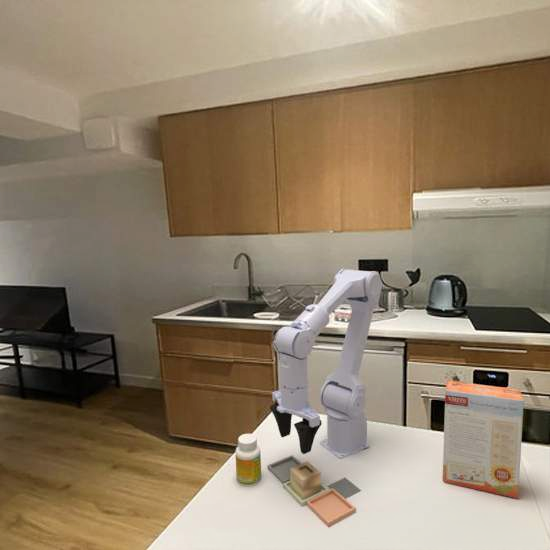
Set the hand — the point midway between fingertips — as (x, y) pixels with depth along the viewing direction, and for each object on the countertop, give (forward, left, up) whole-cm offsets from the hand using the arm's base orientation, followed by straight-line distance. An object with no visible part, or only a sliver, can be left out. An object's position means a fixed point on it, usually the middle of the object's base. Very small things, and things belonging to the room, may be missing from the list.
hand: (295, 443), depth 86 cm
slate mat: (-6, +8, -8) cm, 13 cm away
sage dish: (+1, +4, -8) cm, 10 cm away
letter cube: (+1, +4, -8) cm, 9 cm away
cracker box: (-31, +22, -9) cm, 39 cm away
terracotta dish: (0, +11, -8) cm, 14 cm away
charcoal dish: (0, -3, -8) cm, 9 cm away
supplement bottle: (+9, -6, -9) cm, 13 cm away
